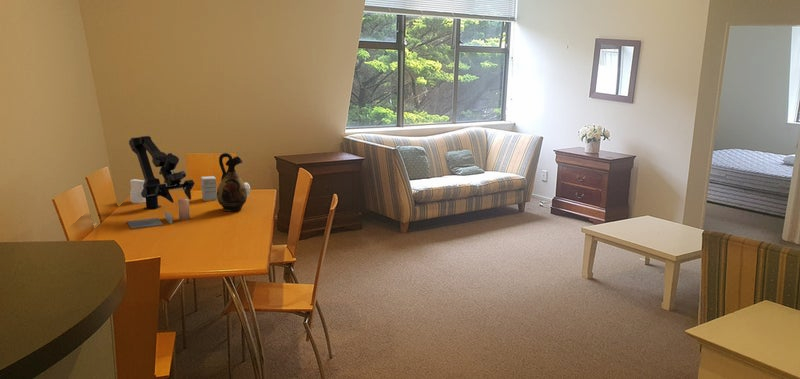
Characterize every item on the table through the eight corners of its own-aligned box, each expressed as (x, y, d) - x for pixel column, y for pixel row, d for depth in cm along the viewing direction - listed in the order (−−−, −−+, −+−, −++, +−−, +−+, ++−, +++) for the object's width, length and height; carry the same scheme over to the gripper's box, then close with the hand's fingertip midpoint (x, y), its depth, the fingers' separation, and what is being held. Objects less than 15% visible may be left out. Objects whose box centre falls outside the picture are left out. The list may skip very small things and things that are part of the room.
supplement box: (202, 198, 338) (200, 176, 335) (215, 197, 341) (214, 175, 338) (203, 201, 331) (202, 179, 329) (217, 200, 334) (216, 178, 332)
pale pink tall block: (182, 217, 296) (181, 198, 294) (191, 218, 295) (190, 198, 293) (177, 220, 291) (176, 200, 289) (186, 220, 290) (185, 200, 288)
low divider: (165, 218, 294) (164, 211, 293) (167, 218, 295) (166, 211, 294) (170, 223, 284) (169, 216, 283) (172, 223, 285) (171, 216, 284)
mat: (126, 222, 286) (126, 221, 286) (157, 218, 293) (157, 217, 293) (131, 229, 274) (131, 228, 274) (163, 225, 281) (162, 224, 281)
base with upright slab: (127, 202, 327) (125, 180, 324) (140, 199, 334) (139, 178, 332) (138, 204, 323) (136, 182, 320) (151, 200, 330) (150, 179, 328)
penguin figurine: (250, 182, 339) (229, 186, 333) (252, 197, 341) (231, 201, 335) (247, 181, 344) (226, 184, 338) (249, 195, 346) (228, 199, 340)
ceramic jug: (251, 206, 320) (249, 151, 314) (241, 213, 305) (239, 156, 299) (221, 205, 322) (218, 150, 315) (209, 212, 307) (206, 155, 300)
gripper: (155, 168, 286) (168, 194, 281) (191, 163, 299) (204, 188, 294) (149, 182, 292) (161, 207, 287) (184, 177, 306) (197, 201, 301)
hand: (181, 200), depth 292 cm, fingers open, 9 cm apart
